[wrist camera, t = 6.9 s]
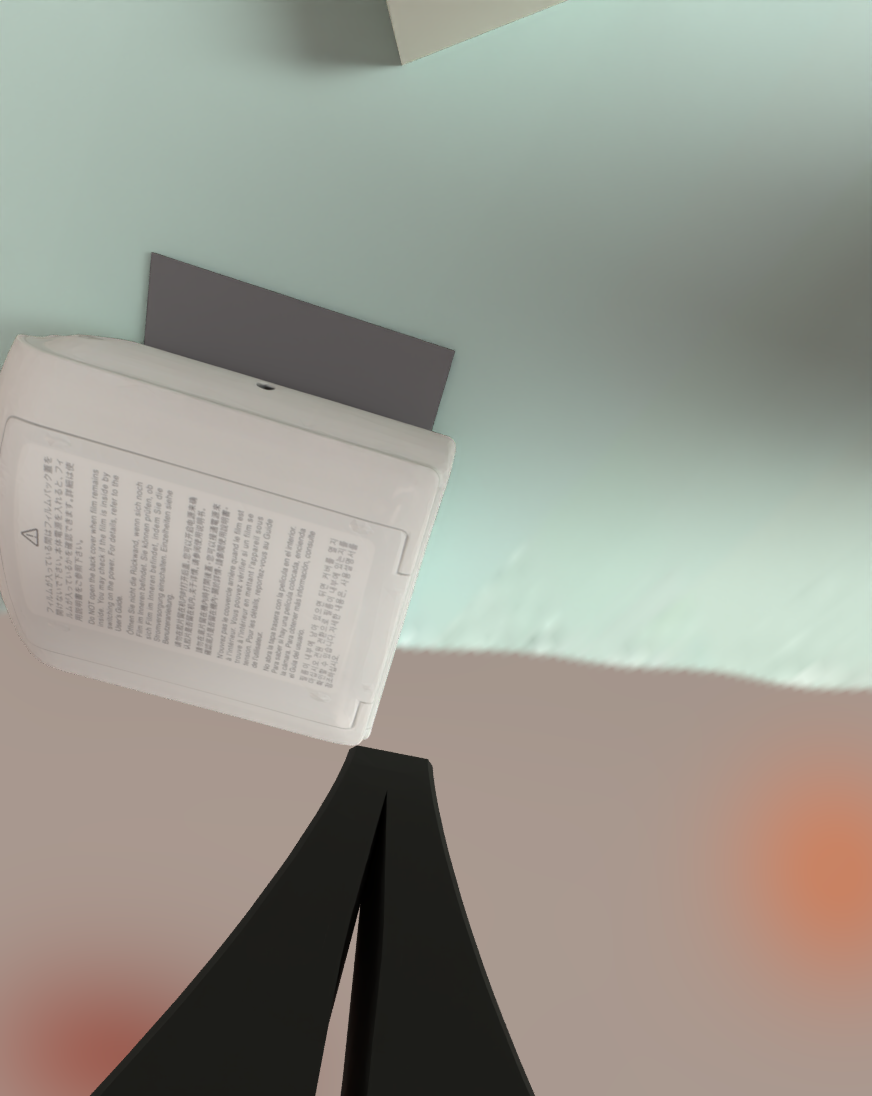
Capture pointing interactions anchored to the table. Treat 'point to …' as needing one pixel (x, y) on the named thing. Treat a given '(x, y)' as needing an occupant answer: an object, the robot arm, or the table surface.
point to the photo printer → (209, 531)
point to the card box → (451, 21)
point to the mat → (293, 343)
